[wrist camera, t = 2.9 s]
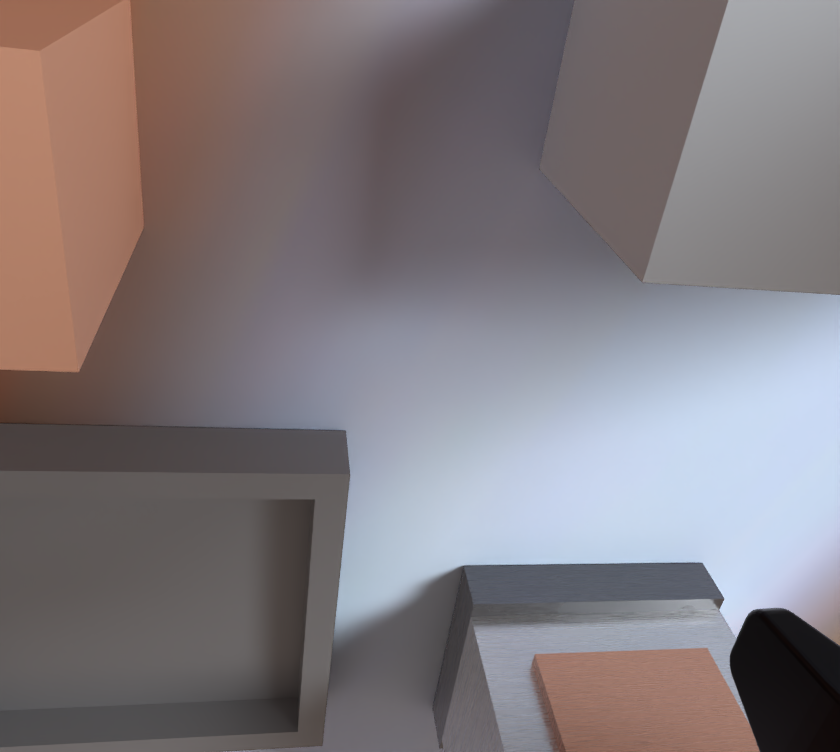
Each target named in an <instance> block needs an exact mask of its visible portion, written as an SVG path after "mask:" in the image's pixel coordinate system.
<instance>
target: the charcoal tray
mask: <svg viewBox="0 0 840 752" xmlns="http://www.w3.org/2000/svg"><path fill="white" fill-rule="evenodd" d="M349 480H350V469H349V458H348V448H347V438H346V431H337V430H289V429H242V428H195V427H147V426H100V425H52V424H5V423H0V752H221V751H239V750H257V749H275V748H293V747H310V746H322V744H323V734H324V724H325V714H326V705H327V695H328V685H329V675H330V666H331V656H332V646H333V636H334V627H335V617H336V607H337V597H338V587H339V578H340V568H341V558H342V548H343V539H344V529H345V519H346V509H347V500H348V490H349Z"/></svg>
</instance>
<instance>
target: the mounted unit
mask: <svg viewBox="0 0 840 752" xmlns="http://www.w3.org/2000/svg"><path fill="white" fill-rule="evenodd" d="M723 601H724V597H723V596H722V594H721V592H720V591H719V589H718V588H717V586H716V584H715V583H714V581H713V579H712V578H711V576H710V575H709V573H708V571H707V570H706V568H705V566H704V565H703V563H669V564H589V565H509V566H464V568H463V572H462V577H461V582H460V586H459V591H458V595H457V600H456V604H455V609H454V614H453V618H452V623H451V627H450V632H449V637H448V641H447V646H446V650H445V655H444V659H443V664H442V669H441V673H440V678H439V682H438V687H437V692H436V696H435V701H434V705H433V713H434V719H435V725H436V730H437V736H438V742H439V748H440V749H441V748H443V749H444V752H760V751H759V748H758V746H757V743H756V740H755V737H754V735H753V732H752V729H751V727H750V724H749V721H748V718H747V716H746V713H745V710H744V707H743V705H742V702H741V699H740V696H739V694H738V691H737V688H736V685H735V683H734V680H733V677H732V674H731V670H730V653H731V650H732V648H733V646H734V643H735V641H736V637H735V636H734V634H733V632H732V631H731V629H730V627H729V626H728V624H727V622H726V621H725V619H724V617H723V616H722V614H721V612H720V611H719V609H720V607H721V605H722V603H723Z"/></svg>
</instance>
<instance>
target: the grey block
mask: <svg viewBox="0 0 840 752" xmlns="http://www.w3.org/2000/svg"><path fill="white" fill-rule="evenodd" d="M539 170H540V171H541V172H542V173H543V174H544V175H545V176H546V177H547V178H548V180H549V181H550V182H551V183H552V184H553V185H554V186H555V187H556V188H557V189H558V191H559V192H560V193H561V194H562V195H563V196H564V197H565V198H566V199H567V200H568V202H569V203H570V204H571V205H572V206H573V207H574V208H575V209H576V210H577V211H578V212H579V214H580V215H581V216H582V217H583V218H584V219H585V220H586V221H587V222H588V223H589V225H590V226H591V227H592V228H593V229H594V230H595V231H596V232H597V233H598V234H599V236H600V237H601V238H602V239H603V240H604V241H605V242H606V243H607V244H608V245H609V246H610V248H611V249H612V250H613V251H614V252H615V253H616V254H617V255H618V256H619V257H620V259H621V260H622V261H623V262H624V263H625V264H626V265H627V266H628V267H629V268H630V270H631V271H632V272H633V273H634V274H635V275H636V276H637V277H638V278H639V279H640V280H641V282H642V283H657V284H673V285H689V286H705V287H721V288H737V289H753V290H769V291H785V292H801V293H817V294H833V295H840V0H574V4H573V9H572V14H571V19H570V23H569V28H568V33H567V38H566V42H565V47H564V52H563V57H562V61H561V66H560V71H559V76H558V80H557V85H556V90H555V95H554V99H553V104H552V109H551V114H550V118H549V123H548V128H547V133H546V137H545V142H544V147H543V152H542V156H541V161H540V166H539Z"/></svg>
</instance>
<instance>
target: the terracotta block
mask: <svg viewBox="0 0 840 752" xmlns="http://www.w3.org/2000/svg"><path fill="white" fill-rule="evenodd" d="M143 228H144V219H143V203H142V187H141V171H140V155H139V138H138V122H137V106H136V90H135V74H134V58H133V42H132V26H131V10H130V0H0V369H1V370H31V371H61V372H79V370H80V368H81V366H82V364H83V362H84V359H85V357H86V355H87V353H88V350H89V348H90V346H91V344H92V342H93V339H94V337H95V335H96V333H97V330H98V328H99V326H100V324H101V322H102V319H103V317H104V315H105V313H106V310H107V308H108V306H109V304H110V302H111V299H112V297H113V295H114V293H115V290H116V288H117V286H118V284H119V282H120V279H121V277H122V275H123V273H124V270H125V268H126V266H127V264H128V262H129V259H130V257H131V255H132V253H133V250H134V248H135V246H136V244H137V242H138V239H139V237H140V235H141V233H142V230H143Z"/></svg>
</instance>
